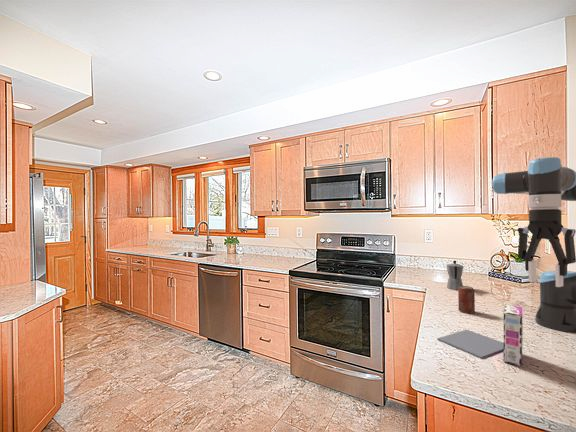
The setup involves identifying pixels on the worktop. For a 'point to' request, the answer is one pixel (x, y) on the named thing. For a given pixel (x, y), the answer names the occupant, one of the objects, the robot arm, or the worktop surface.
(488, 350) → the mat
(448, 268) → the coffeepot
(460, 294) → the soda can
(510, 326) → the candy bar box
